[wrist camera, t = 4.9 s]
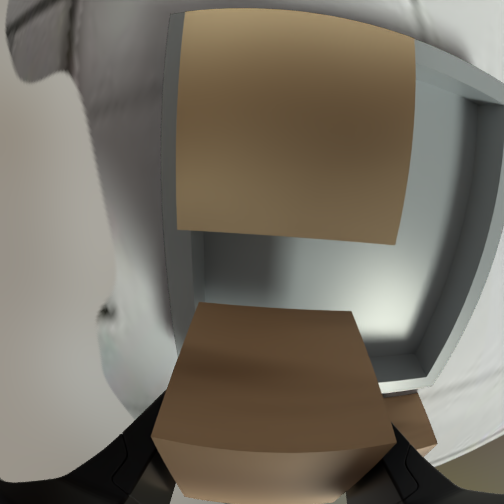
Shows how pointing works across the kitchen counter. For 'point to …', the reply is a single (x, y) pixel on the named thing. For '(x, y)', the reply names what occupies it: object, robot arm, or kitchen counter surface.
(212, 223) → the block
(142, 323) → the kitchen counter surface
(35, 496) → the robot arm
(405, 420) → the block
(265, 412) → the block
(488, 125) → the tray
